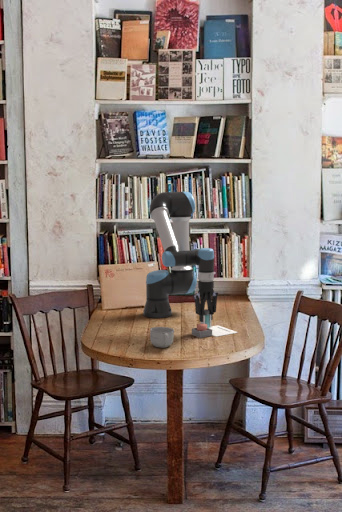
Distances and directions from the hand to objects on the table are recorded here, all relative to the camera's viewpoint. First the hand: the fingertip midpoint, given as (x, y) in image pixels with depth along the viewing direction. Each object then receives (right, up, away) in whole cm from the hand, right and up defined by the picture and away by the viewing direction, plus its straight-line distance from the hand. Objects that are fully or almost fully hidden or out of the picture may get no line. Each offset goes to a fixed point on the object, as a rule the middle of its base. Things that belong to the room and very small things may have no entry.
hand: (205, 327), depth 361 cm
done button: (-2, -1, -8) cm, 9 cm away
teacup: (-21, -6, -27) cm, 35 cm away
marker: (0, -1, 0) cm, 1 cm away
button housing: (-2, -3, -8) cm, 9 cm away
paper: (+5, -2, -1) cm, 6 cm away
